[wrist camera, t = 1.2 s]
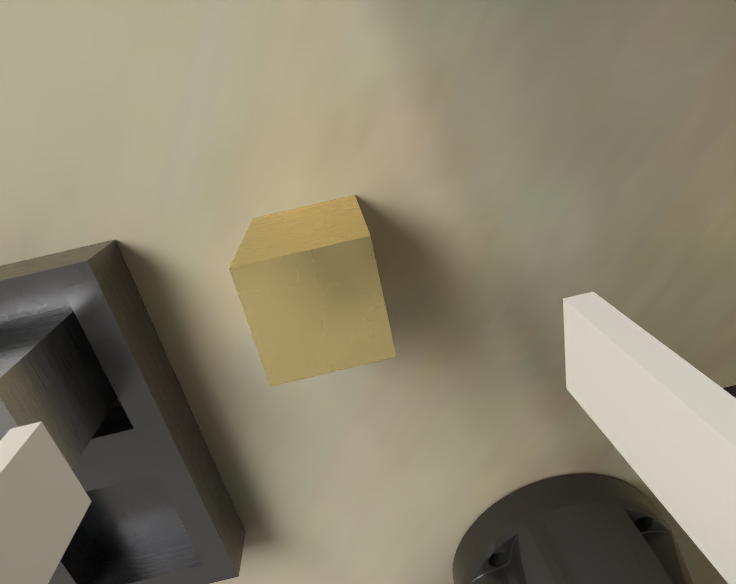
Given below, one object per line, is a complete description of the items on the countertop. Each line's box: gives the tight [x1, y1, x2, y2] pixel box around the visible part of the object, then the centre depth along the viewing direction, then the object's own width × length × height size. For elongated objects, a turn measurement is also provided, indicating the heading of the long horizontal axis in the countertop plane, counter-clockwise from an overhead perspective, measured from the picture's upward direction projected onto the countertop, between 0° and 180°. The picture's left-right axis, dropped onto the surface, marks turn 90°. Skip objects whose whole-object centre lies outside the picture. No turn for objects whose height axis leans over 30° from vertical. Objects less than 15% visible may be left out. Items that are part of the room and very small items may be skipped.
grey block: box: [0, 306, 118, 469], centre depth 21 cm, size 5×5×7 cm
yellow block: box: [229, 195, 396, 386], centre depth 21 cm, size 5×5×7 cm
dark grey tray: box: [0, 240, 245, 584], centre depth 25 cm, size 20×10×3 cm, turn 12°
